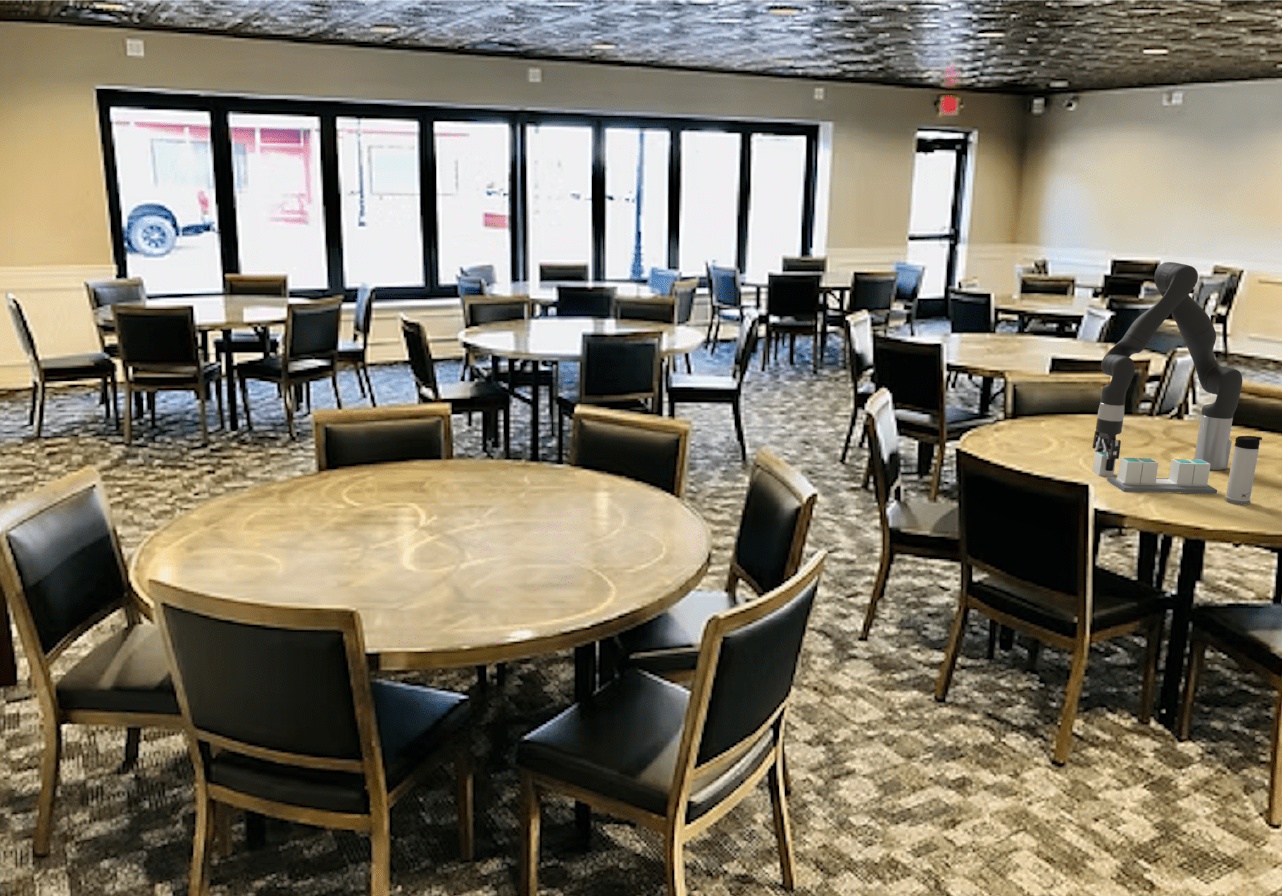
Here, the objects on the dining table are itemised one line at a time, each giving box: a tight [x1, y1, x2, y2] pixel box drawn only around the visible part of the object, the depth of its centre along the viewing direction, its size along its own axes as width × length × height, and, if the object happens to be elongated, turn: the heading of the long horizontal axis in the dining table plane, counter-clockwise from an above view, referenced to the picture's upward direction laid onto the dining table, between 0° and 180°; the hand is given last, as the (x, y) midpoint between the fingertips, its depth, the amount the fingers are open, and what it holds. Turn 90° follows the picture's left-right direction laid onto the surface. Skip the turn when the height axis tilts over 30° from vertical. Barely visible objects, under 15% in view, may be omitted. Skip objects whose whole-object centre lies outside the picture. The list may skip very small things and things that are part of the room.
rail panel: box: [1106, 456, 1218, 495], centre depth 322 cm, size 28×12×8 cm, turn 90°
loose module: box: [1092, 451, 1117, 477], centre depth 336 cm, size 4×6×7 cm
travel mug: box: [1224, 435, 1263, 506], centre depth 307 cm, size 6×7×20 cm
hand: (1103, 467), depth 336 cm, fingers open, 8 cm apart
